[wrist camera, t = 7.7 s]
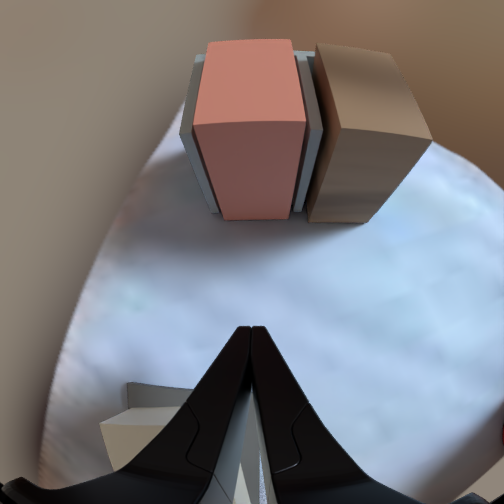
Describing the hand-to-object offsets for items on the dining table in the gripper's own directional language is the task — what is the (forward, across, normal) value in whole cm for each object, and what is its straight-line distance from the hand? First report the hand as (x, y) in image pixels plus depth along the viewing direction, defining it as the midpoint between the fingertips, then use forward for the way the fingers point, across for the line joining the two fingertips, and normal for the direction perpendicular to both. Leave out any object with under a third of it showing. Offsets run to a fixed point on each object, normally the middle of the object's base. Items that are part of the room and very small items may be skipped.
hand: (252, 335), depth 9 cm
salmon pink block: (+12, 0, -2) cm, 12 cm away
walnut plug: (+12, -5, -2) cm, 13 cm away
